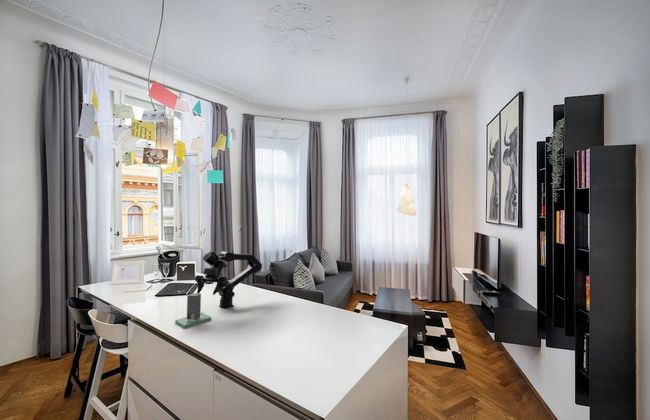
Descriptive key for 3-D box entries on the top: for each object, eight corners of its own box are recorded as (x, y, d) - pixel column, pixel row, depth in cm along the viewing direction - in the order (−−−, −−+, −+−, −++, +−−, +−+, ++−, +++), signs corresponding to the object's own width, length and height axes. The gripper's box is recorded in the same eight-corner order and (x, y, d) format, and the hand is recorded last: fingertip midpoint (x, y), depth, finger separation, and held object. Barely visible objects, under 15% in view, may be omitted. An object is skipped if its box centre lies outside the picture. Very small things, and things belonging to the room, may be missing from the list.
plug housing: (191, 316, 141) (192, 293, 141) (200, 317, 140) (200, 293, 140) (186, 319, 137) (187, 295, 137) (195, 320, 136) (196, 296, 137)
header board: (201, 315, 147) (202, 308, 147) (211, 319, 141) (211, 312, 141) (175, 323, 136) (175, 315, 136) (184, 328, 130) (184, 320, 130)
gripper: (196, 261, 152) (183, 285, 141) (227, 262, 149) (215, 287, 138) (204, 272, 160) (192, 295, 148) (233, 273, 157) (223, 297, 146)
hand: (205, 294), depth 145 cm, fingers open, 9 cm apart
